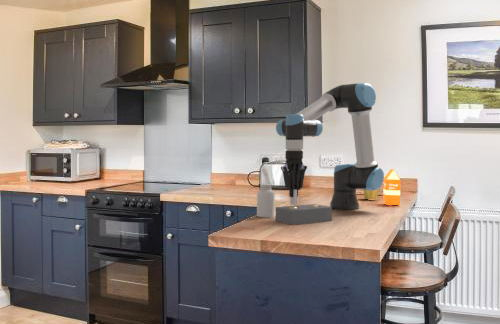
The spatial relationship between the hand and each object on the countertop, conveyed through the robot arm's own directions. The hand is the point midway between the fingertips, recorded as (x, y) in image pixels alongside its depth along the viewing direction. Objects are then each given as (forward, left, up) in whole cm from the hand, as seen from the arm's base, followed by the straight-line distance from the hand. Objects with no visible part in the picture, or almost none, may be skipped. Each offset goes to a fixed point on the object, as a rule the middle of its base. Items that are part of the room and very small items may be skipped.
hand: (293, 204), depth 210 cm
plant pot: (-90, -39, -8) cm, 98 cm away
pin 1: (0, 0, -7) cm, 7 cm away
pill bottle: (+2, -18, -8) cm, 20 cm away
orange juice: (-84, -18, -8) cm, 86 cm away
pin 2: (-12, 0, -7) cm, 13 cm away
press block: (-6, 0, -8) cm, 10 cm away
